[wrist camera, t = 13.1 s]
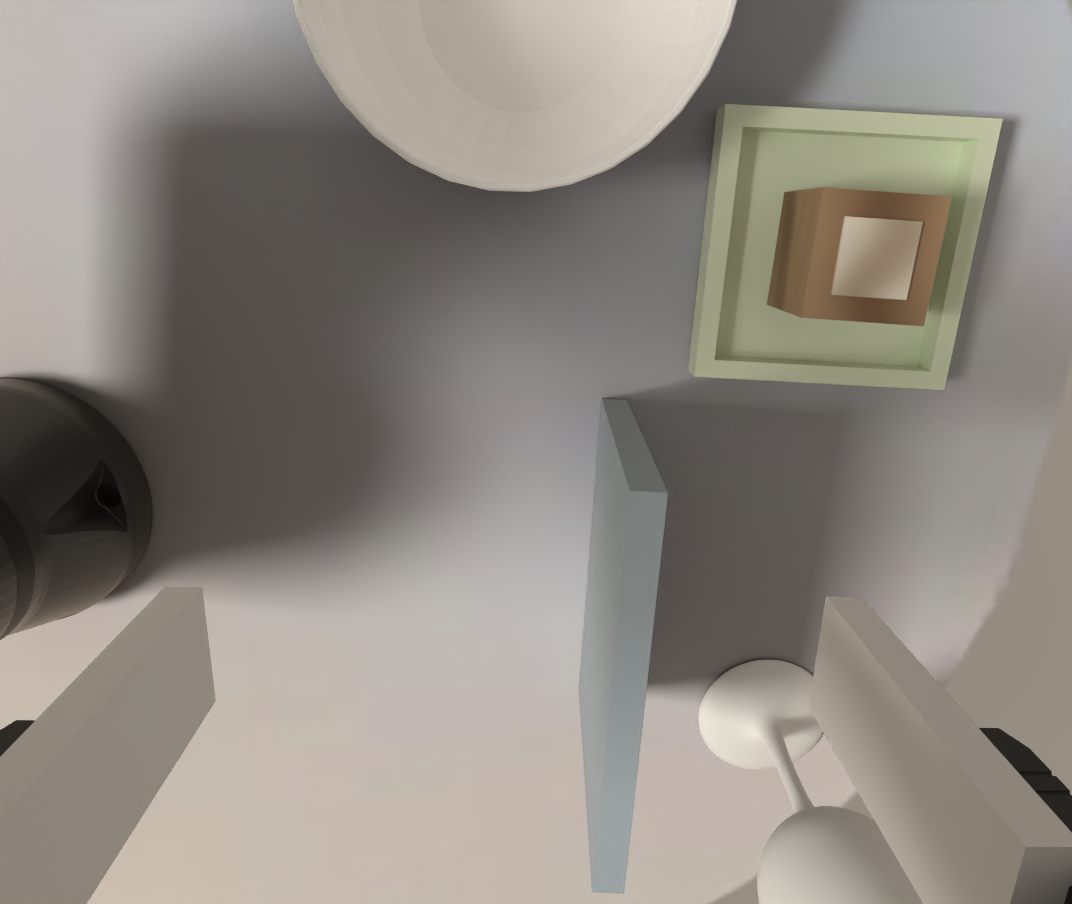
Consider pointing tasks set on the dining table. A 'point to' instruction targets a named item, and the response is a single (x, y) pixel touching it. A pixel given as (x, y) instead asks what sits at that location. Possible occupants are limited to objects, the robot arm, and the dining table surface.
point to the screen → (618, 634)
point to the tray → (834, 162)
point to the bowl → (515, 79)
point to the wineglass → (798, 793)
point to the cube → (857, 255)
